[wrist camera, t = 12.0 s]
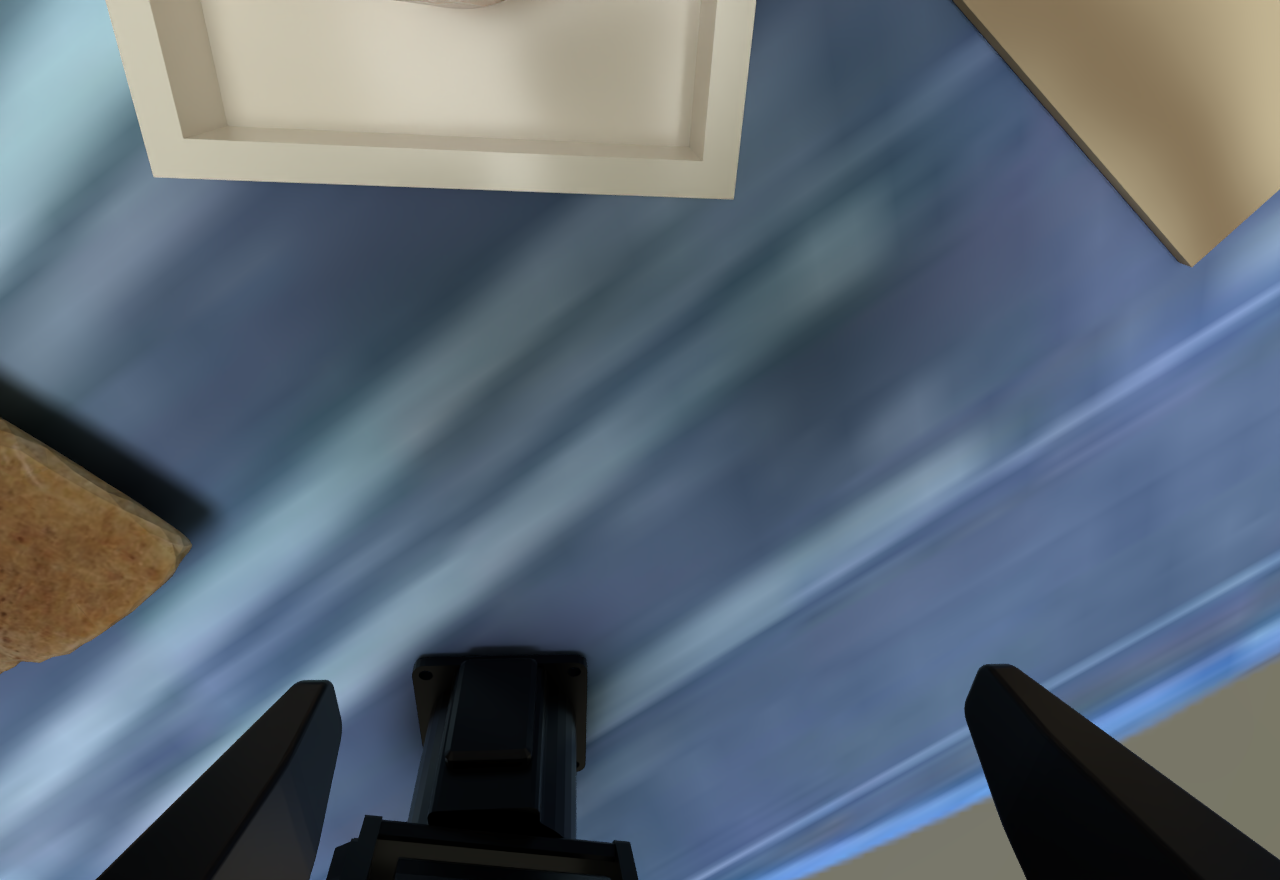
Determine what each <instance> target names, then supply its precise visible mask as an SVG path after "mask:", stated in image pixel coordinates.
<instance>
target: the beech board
mask: <svg viewBox="0 0 1280 880" xmlns="http://www.w3.org/2000/svg"><path fill="white" fill-rule="evenodd" d="M953 1H954V3H955V4H956V5H957V6H958V7H959V8H960V10H961V11H962V12H963V13H964V14H965V15H966V16H967V18H968V19H969V20H970V21H971V22H972V23H973V25H974V26H975V27H976V28H977V29H978V30H979V31H980V33H981V34H982V35H983V36H984V37H985V38H986V40H987V41H988V42H989V43H990V44H991V45H992V47H993V48H994V49H995V50H996V51H997V52H998V53H999V55H1000V56H1001V57H1002V58H1003V59H1004V60H1005V62H1006V63H1007V64H1008V65H1009V66H1010V67H1011V68H1012V70H1013V71H1014V72H1015V73H1016V74H1017V75H1018V77H1019V78H1020V79H1021V80H1022V81H1023V82H1024V83H1025V85H1026V86H1027V87H1028V88H1029V89H1030V90H1031V92H1032V93H1033V94H1034V95H1035V96H1036V97H1037V98H1038V100H1039V101H1040V102H1041V103H1042V104H1043V105H1044V107H1045V108H1046V109H1047V110H1048V111H1049V112H1050V113H1051V115H1052V116H1053V117H1054V118H1055V119H1056V120H1057V122H1058V123H1059V124H1060V125H1061V126H1062V127H1063V128H1064V130H1065V131H1066V132H1067V133H1068V134H1069V135H1070V137H1071V138H1072V139H1073V140H1074V141H1075V142H1076V144H1077V145H1078V146H1079V147H1080V148H1081V149H1082V150H1083V152H1084V153H1085V154H1086V155H1087V156H1088V157H1089V159H1090V160H1091V161H1092V162H1093V163H1094V164H1095V165H1096V167H1097V168H1098V169H1099V170H1100V171H1101V172H1102V174H1103V175H1104V176H1105V177H1106V178H1107V179H1108V180H1109V182H1110V183H1111V184H1112V185H1113V186H1114V187H1115V189H1116V190H1117V191H1118V192H1119V193H1120V194H1121V195H1122V197H1123V198H1124V199H1125V200H1126V201H1127V202H1128V204H1129V205H1130V206H1131V207H1132V208H1133V209H1134V210H1135V212H1136V213H1137V214H1138V215H1139V216H1140V217H1141V219H1142V220H1143V221H1144V222H1145V223H1146V224H1147V225H1148V227H1149V228H1150V229H1151V230H1152V231H1153V232H1154V234H1155V235H1156V236H1157V237H1158V238H1159V239H1160V240H1161V242H1162V243H1163V244H1164V245H1165V246H1166V247H1167V249H1168V250H1169V251H1170V252H1171V253H1172V254H1173V256H1174V257H1175V258H1176V259H1177V260H1178V261H1179V262H1180V263H1182V264H1185V265H1187V266H1190V267H1193V266H1194V265H1195V264H1196V263H1197V262H1199V261H1200V260H1201V259H1202V258H1203V257H1204V256H1205V255H1206V254H1208V253H1209V252H1210V251H1211V250H1212V249H1213V248H1214V247H1215V246H1216V245H1218V244H1219V243H1220V242H1221V241H1222V240H1223V239H1224V238H1225V237H1227V236H1228V235H1229V234H1230V233H1231V232H1232V231H1233V230H1234V229H1236V228H1237V227H1238V226H1239V225H1240V224H1241V223H1242V222H1243V221H1244V220H1246V219H1247V218H1248V217H1249V216H1250V215H1251V214H1252V213H1253V212H1255V211H1256V210H1257V209H1258V208H1259V207H1260V206H1261V205H1262V204H1264V203H1265V202H1266V201H1267V200H1268V199H1269V198H1270V197H1271V196H1273V195H1274V194H1275V193H1276V192H1277V191H1278V190H1279V189H1280V0H953Z"/></svg>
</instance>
